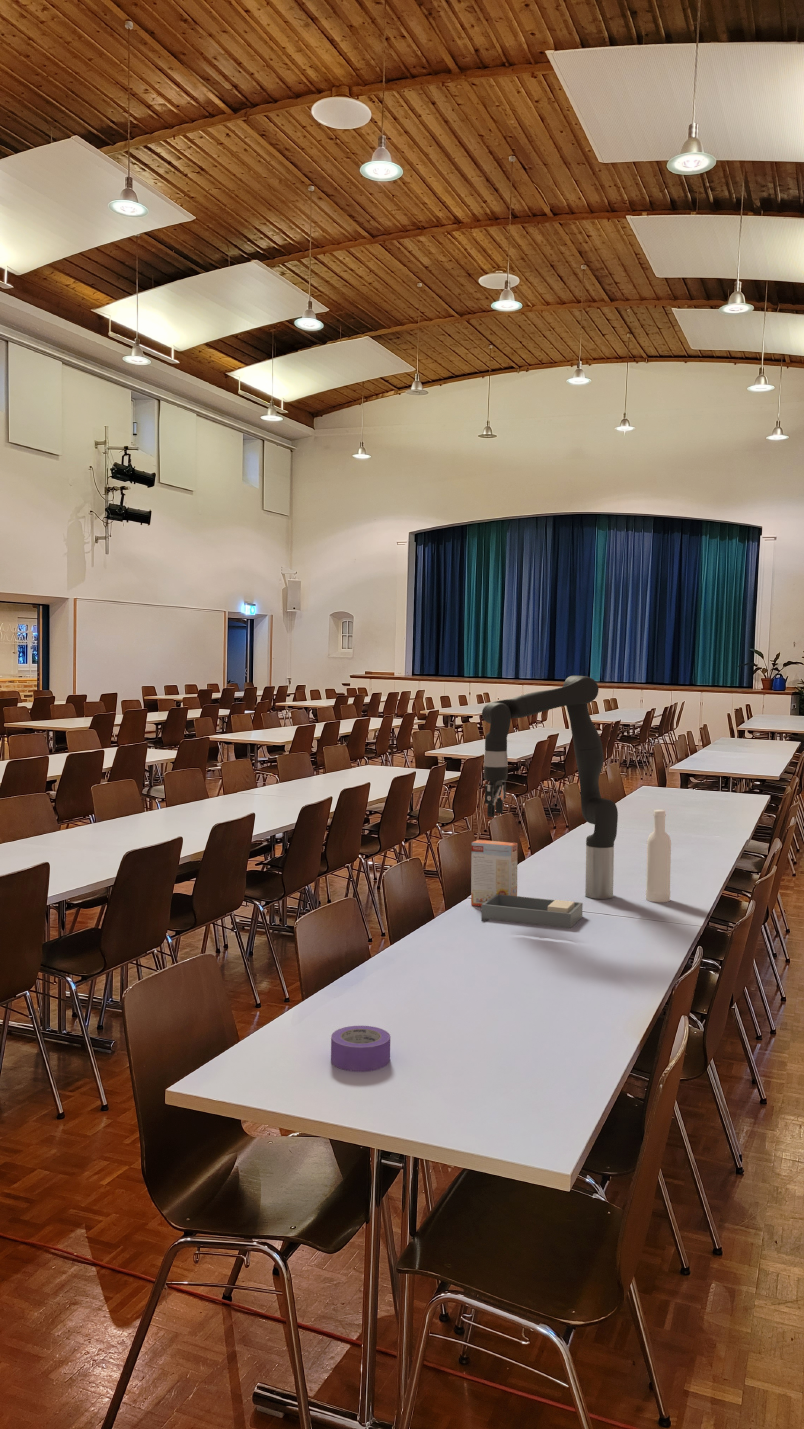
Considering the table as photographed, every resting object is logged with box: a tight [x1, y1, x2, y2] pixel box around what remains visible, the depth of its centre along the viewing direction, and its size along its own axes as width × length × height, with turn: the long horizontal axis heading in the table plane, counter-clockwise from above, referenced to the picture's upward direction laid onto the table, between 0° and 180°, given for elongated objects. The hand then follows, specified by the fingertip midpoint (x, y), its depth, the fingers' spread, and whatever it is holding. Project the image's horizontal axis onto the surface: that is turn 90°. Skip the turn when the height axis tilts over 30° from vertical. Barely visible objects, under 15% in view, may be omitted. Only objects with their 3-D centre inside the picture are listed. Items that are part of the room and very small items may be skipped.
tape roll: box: [330, 1025, 391, 1073], centre depth 199 cm, size 12×12×5 cm
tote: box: [480, 894, 584, 929], centre depth 307 cm, size 15×28×5 cm, turn 67°
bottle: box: [645, 809, 672, 904], centre depth 333 cm, size 8×8×30 cm
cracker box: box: [470, 839, 518, 907], centre depth 324 cm, size 14×6×21 cm, turn 62°
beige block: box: [547, 899, 575, 913], centre depth 304 cm, size 9×6×5 cm, turn 157°
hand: (495, 815), depth 323 cm, fingers open, 8 cm apart
